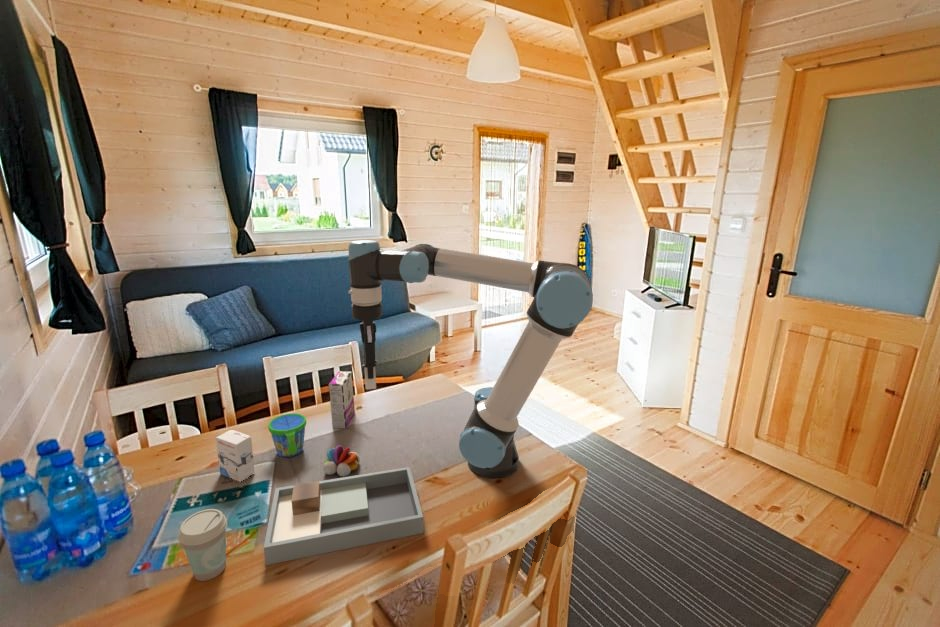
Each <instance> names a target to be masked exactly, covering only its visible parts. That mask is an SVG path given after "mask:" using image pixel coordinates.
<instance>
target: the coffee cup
mask: <svg viewBox="0 0 940 627" xmlns="http://www.w3.org/2000/svg"><path fill="white" fill-rule="evenodd" d="M227 525H228V520H227V517H226V516H225V515H224V514H223V512H222V511H221V510H219V509H216V508H207V509H203V510H200V511H197V512H195V513H193V514H191V515H189V516H188V517H187V518H186V519H185V520H183V522H182V523H181V525H180V528H179V531H178V541H179V543H181V545H182V547H183V550H184V553H185V555H186V558H187V560H188V563H189V566H190V569H191V571H192V574H193V577H194V578H195V579H196V580H197V581H200V582H203V581H204V582H205V581H206V582H207V581H209V580H212V579H214V578H216V577H217V576H219V575H220V574H222V572H223V571H224V570H225V569H226V566H227V541H226V540H227V539H226V538H227V537H226V536H227V535H226V533H227V532H226V531H227V530H226V528H227Z"/></svg>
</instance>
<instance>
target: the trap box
mask: <svg viewBox="0 0 940 627" xmlns="http://www.w3.org/2000/svg"><path fill="white" fill-rule="evenodd" d="M318 481H319V480H318ZM304 484H306V483H304ZM294 485H295V484H294ZM294 485H287V486H281V487H275V490H274V495H273V499H272V504H271V509H270V513H269V519H268V524H267V529H266V533H265V538H264V544H263V552H264V561H265V566H268V565H274V564H278V563H283V562H287V561H292V560H299V559H303V558H307V557H313V556H318V555H322V554H327V553H331V552H337V551H342V550H346V549H353V548H356V547H363V546H367V545H372V544H376V543H381V542H382V543H383V542H386V541H392V540H395V539H401V538H406V537H407V538H408V537H410V536H411V537H412V536H416V535H419V534H420V535H421V534H424V532H425V531H424V514H423V510H422V507H421V504H420V500H419V496H418V493H417V489H416V484H415V482H414V477H413V474H412V470H411V467H410V466H407V467H400V468H399V467H398V468H393V469H388V470H382V471H375V472H370V473H363V474H358V475H357V474H355V475H350V476H349V475H348V476H345V477H339V478H338V477H337V478H331V479H325V480H320V481H319V485H320V511H316V512H310V513H305V514H299V515H293V511H292V502H291V501H292V494H293V487H294ZM298 485H300V483H299V484H298Z"/></svg>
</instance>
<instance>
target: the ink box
mask: <svg viewBox="0 0 940 627" xmlns="http://www.w3.org/2000/svg"><path fill="white" fill-rule="evenodd" d="M215 442H216V443H215V444H216V450H217V457H218V458H217V459H218V466H219V474H220V476H221V475H222V476H224V477H226V478H228V479H231V478H232V479H231V480H233V479H234V480H233V481H236V480H237V481H236V482H238V481H239V482H238V483H242V482H244V481H246V480H247V479H248V478H247V477H249V476H250V475H252V474H253V473H255V464H254V452H253V443H252V436H251V435H248V434H247V433H243V432H241V431H237V430H233V429H230V430H227V431H225V432H223V433H221V434H219V435H217V436H216V437H215ZM252 476H253V475H252ZM246 478H247V479H246ZM249 478H250V477H249ZM245 479H246V480H245ZM243 480H244V481H243ZM241 481H242V482H241Z"/></svg>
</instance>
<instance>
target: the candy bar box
mask: <svg viewBox="0 0 940 627" xmlns="http://www.w3.org/2000/svg"><path fill="white" fill-rule="evenodd" d="M353 386H354V385H353V374H352V371H348V370H347V371H346V370H343V371H342V370H339V371H338V372H337V373H336V374H335V376H334V377H333V378H332V379H331V381H330V382H329V383H328V390H329V391H328V392H329V401H330V409H331V410H330V412H331V424H332V425H331V426H332V429H338V430H339V429H340V430H341V429H343V430H344V429H345V430H346V429H347V428H348V426H349V424H350V422H351V420H352V418H353V417H354V415H355V413H356V411H355V398H354V387H353Z"/></svg>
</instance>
